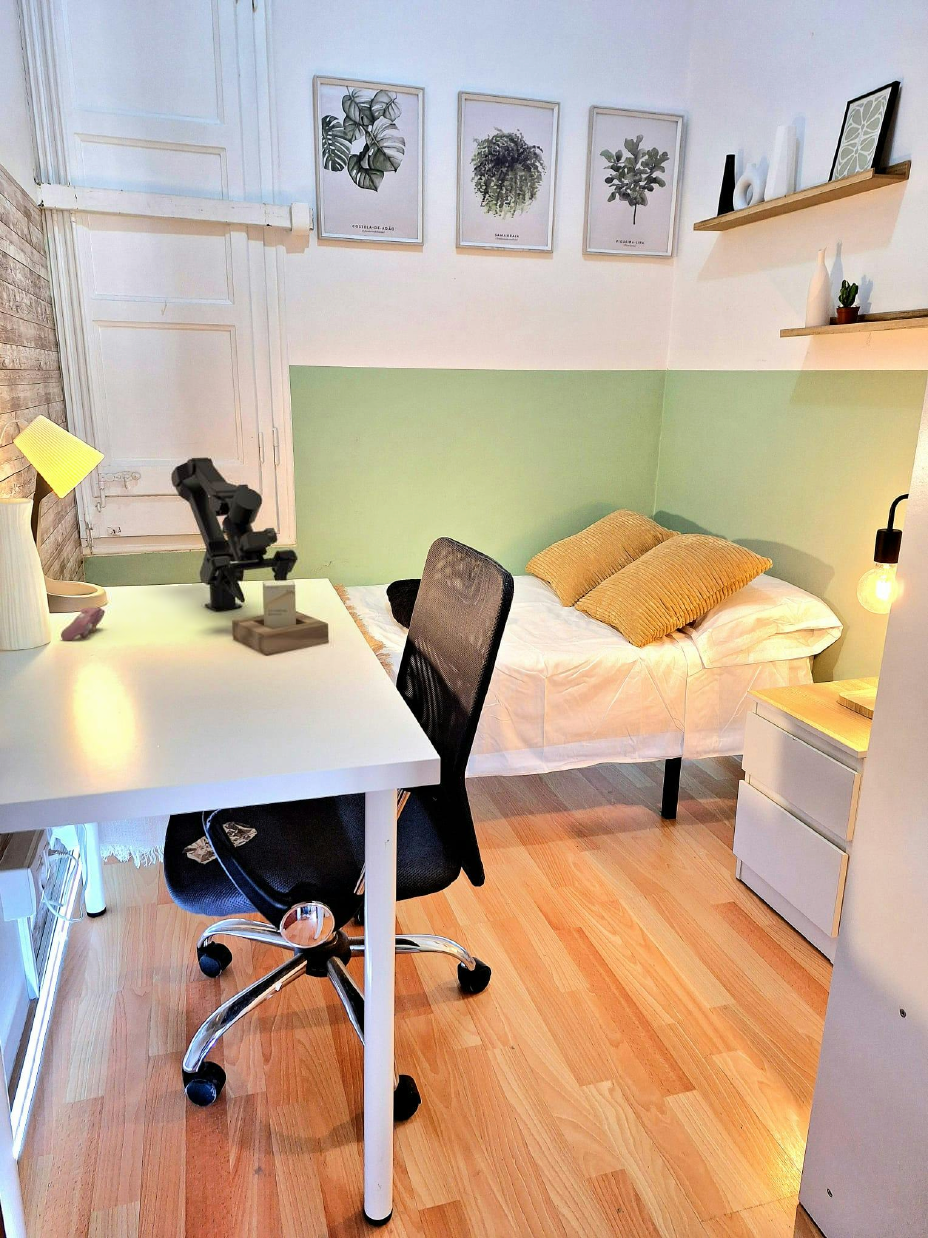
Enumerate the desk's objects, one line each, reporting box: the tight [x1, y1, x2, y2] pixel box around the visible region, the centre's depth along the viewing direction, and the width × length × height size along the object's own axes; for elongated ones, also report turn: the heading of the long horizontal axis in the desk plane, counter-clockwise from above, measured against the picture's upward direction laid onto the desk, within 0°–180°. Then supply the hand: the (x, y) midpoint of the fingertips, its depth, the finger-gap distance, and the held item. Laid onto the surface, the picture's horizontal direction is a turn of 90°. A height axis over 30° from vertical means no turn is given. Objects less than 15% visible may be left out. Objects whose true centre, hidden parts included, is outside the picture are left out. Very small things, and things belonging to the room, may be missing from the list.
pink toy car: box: [60, 605, 106, 641], centre depth 172 cm, size 10×5×7 cm, turn 0°
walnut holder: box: [231, 610, 329, 656], centre depth 171 cm, size 14×14×4 cm
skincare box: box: [262, 579, 297, 629], centre depth 170 cm, size 6×4×12 cm
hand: (264, 598), depth 175 cm, fingers open, 9 cm apart
